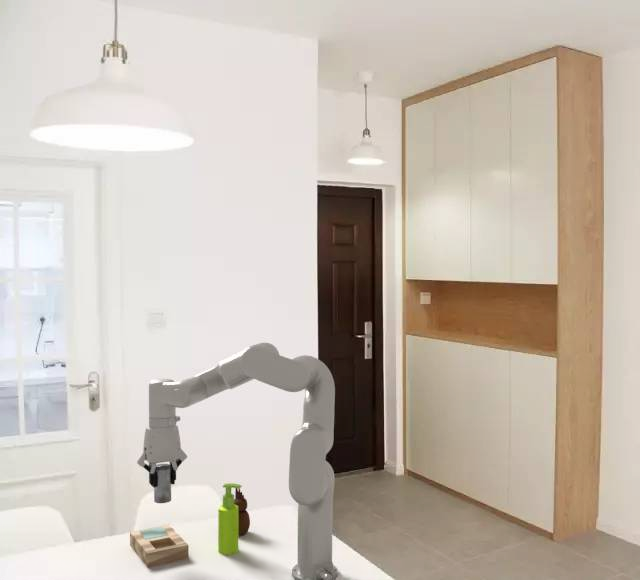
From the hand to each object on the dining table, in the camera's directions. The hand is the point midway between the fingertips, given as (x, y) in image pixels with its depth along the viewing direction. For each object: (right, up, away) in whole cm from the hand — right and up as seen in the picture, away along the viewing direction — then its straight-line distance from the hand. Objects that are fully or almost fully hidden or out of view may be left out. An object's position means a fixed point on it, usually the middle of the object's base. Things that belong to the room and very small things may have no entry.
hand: (162, 484), depth 200 cm
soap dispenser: (+19, -21, +5) cm, 29 cm away
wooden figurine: (+20, -21, +18) cm, 34 cm away
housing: (-2, -21, +4) cm, 22 cm away
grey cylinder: (0, -5, 0) cm, 5 cm away
